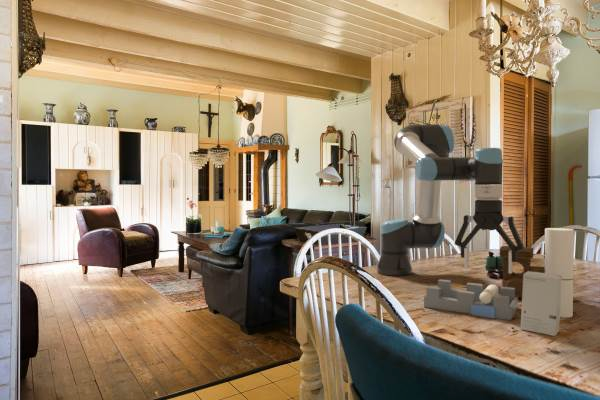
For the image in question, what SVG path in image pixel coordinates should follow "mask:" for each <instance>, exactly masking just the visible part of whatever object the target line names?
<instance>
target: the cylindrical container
mask: <svg viewBox="0 0 600 400" xmlns="http://www.w3.org/2000/svg"><path fill="white" fill-rule="evenodd" d="M574 230H575V229H573V228H564V227H545V228H544V256H545V259H544V267H545V273H547V274H553V275H559V276H562V286H561V304H560V318H573V315H574V313H573V312H574V242H575V241H574V240H575V238H574V233H575V231H574Z"/></svg>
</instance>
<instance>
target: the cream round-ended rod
mask: <svg viewBox="0 0 600 400" xmlns="http://www.w3.org/2000/svg"><path fill="white" fill-rule="evenodd" d="M499 292H500V289H499V287H498V286H497V285H496V284H489V285H488V286H486V288H485V289H483V292H482V293H481V294H480V297H479V298H480V301H481V302H482V303H484V304H489V303H491V302H492V300H493V296H494V295H499V294H500V293H499Z"/></svg>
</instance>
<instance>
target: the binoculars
mask: <svg viewBox="0 0 600 400" xmlns="http://www.w3.org/2000/svg"><path fill="white" fill-rule="evenodd" d="M494 254H495V253H494V252H493V251H490V250H489V251H488V256H486V261H485V266H484V267H485V270H486V271H487V272H486V276H488V277H489V278H490V279H493V280H497V279H498V277H500V279H502V280H503V279H504V278H503V266H502V257H500V252H499V253H498V254H499V255H496V256H495V255H494Z"/></svg>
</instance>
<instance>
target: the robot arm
mask: <svg viewBox="0 0 600 400" xmlns="http://www.w3.org/2000/svg"><path fill="white" fill-rule="evenodd" d="M393 144H394V147H395V150H396V151H397V152H398V154H400V155H402V156H405V157H407V158H408V159H409V160H410V162H411V163H412V164H414V172H415V175H416V176H415V177H416V179H418V180H419V187H418V196H417V197H418V198H417V199H418V201H417V211H416V214H415V215H414V216H413V218H412V221H410V222H409V220H408V219H407V218H397V219H390V220H389V219H388V220H385V221H383V222H382V223H381V226H380V258H379V260H378V264H377V266H376V267H377V268H376V272H377V273H378V274H381V275H385V276H394V277H395V276H398V277H401V276H403V277H404V276H409V275H412V274H413V267H412V264H411V261H410V257H409V249H437V248H439V247H440V246H442V244H443V242H444V240H445V233H446V231H445V225H444V224H443V222H442V221H441V218H440V217H439V216H438V215H439V214H438V213H439V203H440V196H441V195H440V192H441V183H442V181H466V182H467V181H469V182H472V181H474V198H475V200H474V215H468V214H465V215H464V216H463V222H462V225H461V227H460V230H459V231H458V234H457V236H456V239H455V241H454V245H455V246H459V247H460V257H461V258H462V259H464V260H463V264H464V267H463V268H464V270H468V269H469V268H470V267H469V266H470V247H469V246H468V245H469V243H470V242H471V241H472V240H473V238H474V237H475V236H476V235H477V234H478V232H479V231H480V230H482V231H487V230H488V231H495V230H496V232H497V233H498V234H499V236H501V238H502V239H503V241H504V242H505V243H506V246H509V247H510V249H511V250H510V251H509V269H508V273H510V274H511V273H512V272H514V270H513V268H514V267H513V266H514V265H513V264H514V263H517V262H516V260H517V250H521V249H523V248H524V247H525V246H524V243H523V241H522V239H521V237H520V233H519V232H518V229H517V227H516V225H515V218H514V216H512V215H511V216H504V215H503V200H502V198H503V162H504V159H503V151H502V149H501V148H499V147H481V148H477V149H475V154H474V156H470V157H469V156H468V157H466V156H465V157H464V156H460V157H459V156H458V157H457V156H456V157H452V156H451V157H448V154H450V153H453V151H454V148H455V137H454V132H453V130H452V129H451V127H450V126H449V125H447V124H410V125H406V126H404V127H403V128H400V130H399V131H397V133H396V135H395V136H394V139H393ZM472 221H474V223H475V224H476V225H474V227H473V228H472V230H471V231H470V232H469V234H468V235H467V236H466V238H465V239H463V238H464V237H465V234H466V231H467V229H468V227H469V224H470V223H471V222H472ZM503 222H505V223H506V224H507V225H508V227H509V230H510V233H511V234H512V237H513V239H514V241H515V243H514V242H513V240H511V238H510V236H509V235H508V234H507V233H506V231H505V230H504V228H503V227H502V225H501V224H502V223H503Z"/></svg>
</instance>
